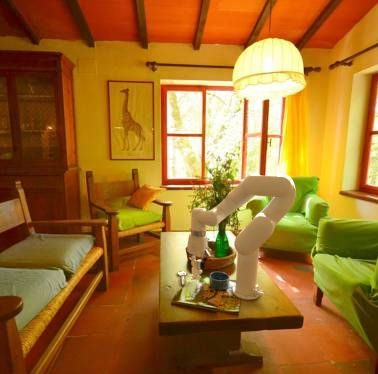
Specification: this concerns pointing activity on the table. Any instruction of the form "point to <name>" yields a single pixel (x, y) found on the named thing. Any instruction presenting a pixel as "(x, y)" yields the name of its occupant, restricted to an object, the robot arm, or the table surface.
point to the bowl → (219, 280)
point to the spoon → (182, 276)
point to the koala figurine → (195, 268)
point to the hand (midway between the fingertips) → (197, 266)
